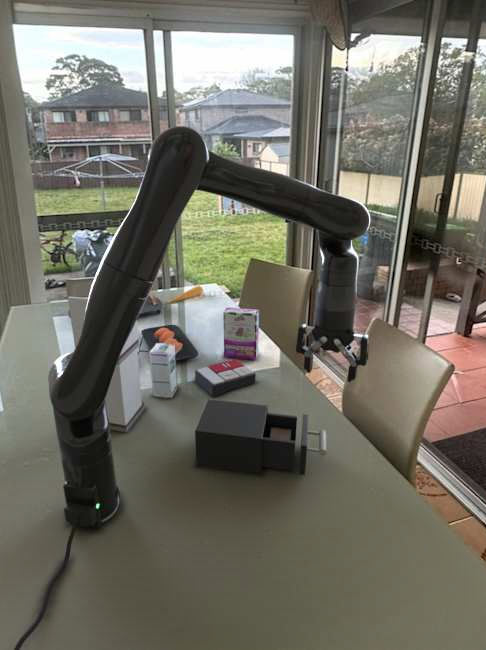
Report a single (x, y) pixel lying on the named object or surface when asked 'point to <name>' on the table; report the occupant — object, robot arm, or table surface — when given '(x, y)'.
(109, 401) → the tall white pillar
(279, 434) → the block
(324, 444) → the drawer
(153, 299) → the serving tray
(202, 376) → the calculator
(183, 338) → the sushi plate
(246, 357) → the candy bar box
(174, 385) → the syrup box
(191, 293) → the carrot
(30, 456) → the table surface
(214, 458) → the cabinet
